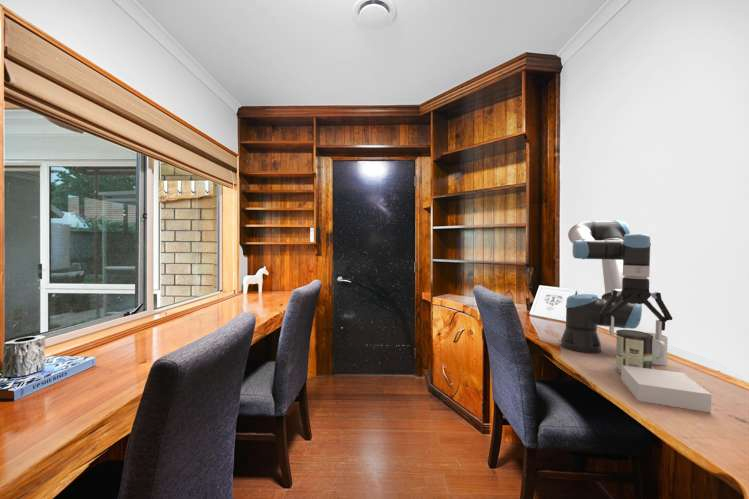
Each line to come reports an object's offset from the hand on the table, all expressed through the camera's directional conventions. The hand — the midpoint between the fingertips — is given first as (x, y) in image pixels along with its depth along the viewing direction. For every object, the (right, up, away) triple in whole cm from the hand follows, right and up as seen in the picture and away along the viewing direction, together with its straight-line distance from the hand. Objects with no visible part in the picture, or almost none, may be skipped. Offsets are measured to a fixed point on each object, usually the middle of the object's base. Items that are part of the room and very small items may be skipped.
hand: (634, 337), depth 116 cm
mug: (+16, -13, +9) cm, 22 cm away
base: (-5, -13, -17) cm, 22 cm away
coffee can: (0, -13, +1) cm, 13 cm away
